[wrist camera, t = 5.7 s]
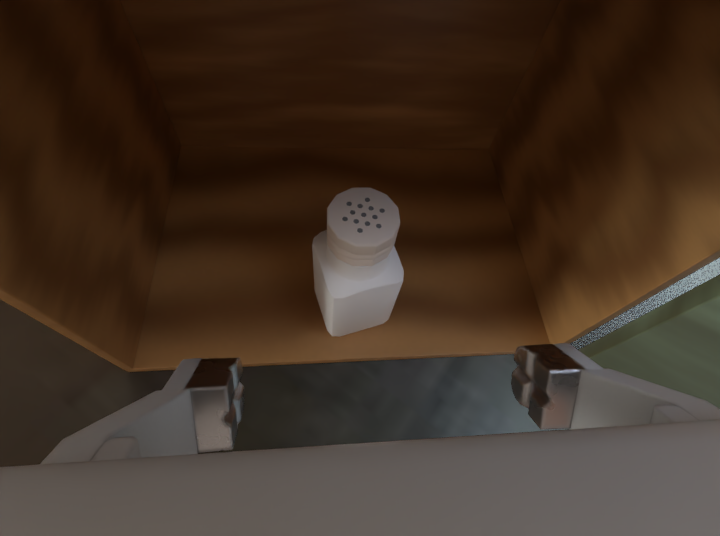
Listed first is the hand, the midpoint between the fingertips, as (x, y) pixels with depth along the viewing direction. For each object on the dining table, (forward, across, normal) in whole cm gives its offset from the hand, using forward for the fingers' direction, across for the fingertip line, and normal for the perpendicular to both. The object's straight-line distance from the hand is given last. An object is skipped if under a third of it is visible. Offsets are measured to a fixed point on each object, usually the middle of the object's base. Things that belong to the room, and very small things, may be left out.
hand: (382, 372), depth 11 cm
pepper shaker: (+13, 0, +3) cm, 14 cm away
